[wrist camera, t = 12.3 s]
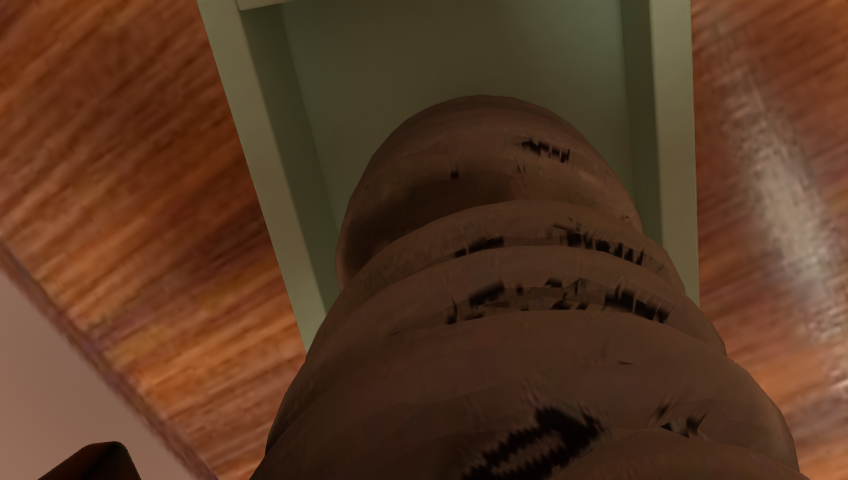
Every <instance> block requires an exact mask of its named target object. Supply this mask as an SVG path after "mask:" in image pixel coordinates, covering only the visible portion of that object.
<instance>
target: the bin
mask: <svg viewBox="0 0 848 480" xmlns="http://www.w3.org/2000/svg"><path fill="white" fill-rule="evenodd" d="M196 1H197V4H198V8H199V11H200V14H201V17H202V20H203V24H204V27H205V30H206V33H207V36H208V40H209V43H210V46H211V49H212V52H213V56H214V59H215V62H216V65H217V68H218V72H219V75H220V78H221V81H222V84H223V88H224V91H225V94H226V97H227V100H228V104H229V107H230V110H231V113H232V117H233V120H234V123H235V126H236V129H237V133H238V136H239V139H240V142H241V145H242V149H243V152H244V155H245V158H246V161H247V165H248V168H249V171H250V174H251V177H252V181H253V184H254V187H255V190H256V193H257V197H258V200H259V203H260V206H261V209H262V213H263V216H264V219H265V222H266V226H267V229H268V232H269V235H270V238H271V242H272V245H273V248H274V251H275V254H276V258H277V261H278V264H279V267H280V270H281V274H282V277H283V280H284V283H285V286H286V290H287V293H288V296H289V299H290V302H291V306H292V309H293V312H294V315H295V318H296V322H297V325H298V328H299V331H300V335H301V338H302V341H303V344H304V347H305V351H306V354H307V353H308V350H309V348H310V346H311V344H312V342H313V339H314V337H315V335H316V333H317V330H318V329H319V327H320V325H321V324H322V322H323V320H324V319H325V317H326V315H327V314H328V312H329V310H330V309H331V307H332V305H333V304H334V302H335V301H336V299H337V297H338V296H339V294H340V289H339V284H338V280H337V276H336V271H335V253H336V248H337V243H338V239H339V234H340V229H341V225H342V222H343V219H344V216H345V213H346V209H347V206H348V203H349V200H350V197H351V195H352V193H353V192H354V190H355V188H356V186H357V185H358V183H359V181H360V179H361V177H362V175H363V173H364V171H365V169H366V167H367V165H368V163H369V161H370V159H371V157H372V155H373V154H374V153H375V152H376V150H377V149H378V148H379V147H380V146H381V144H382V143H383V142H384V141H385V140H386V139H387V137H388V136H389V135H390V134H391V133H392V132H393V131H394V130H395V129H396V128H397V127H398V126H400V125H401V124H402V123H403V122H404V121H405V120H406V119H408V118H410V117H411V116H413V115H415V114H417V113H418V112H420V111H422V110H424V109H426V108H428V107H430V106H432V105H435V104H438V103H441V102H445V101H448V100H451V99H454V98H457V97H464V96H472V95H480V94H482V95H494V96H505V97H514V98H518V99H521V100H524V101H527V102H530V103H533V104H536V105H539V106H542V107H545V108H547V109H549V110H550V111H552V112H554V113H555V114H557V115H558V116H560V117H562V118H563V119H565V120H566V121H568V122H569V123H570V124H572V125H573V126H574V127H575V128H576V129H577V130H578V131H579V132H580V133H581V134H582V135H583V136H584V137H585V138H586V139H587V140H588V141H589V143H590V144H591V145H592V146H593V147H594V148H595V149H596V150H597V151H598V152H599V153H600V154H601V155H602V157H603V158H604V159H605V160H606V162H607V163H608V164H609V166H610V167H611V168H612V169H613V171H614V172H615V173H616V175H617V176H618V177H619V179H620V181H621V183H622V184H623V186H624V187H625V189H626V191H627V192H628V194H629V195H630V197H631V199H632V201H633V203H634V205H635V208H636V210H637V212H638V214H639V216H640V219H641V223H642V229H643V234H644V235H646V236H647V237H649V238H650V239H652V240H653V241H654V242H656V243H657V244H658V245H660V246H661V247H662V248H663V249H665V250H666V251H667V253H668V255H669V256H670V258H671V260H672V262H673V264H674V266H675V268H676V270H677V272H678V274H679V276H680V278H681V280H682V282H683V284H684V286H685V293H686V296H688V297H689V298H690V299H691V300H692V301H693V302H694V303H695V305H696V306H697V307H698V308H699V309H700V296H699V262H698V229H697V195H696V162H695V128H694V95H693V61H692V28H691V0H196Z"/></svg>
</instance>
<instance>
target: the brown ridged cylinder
mask: <svg viewBox="0 0 848 480" xmlns="http://www.w3.org/2000/svg"><path fill="white" fill-rule="evenodd" d="M335 271H336V276H337V280H338V284H339V289H340V294H339V296H338V297H337V299H336V301H335V302H334V304H333V305H332V307H331V309H330V310H329V312H328V314H327V315H326V317H325V319H324V320H323V322H322V324H321V325H320V327H319V329H318V330H317V333H316V335H315V337H314V339H313V342H312V344H311V346H310V348H309V350H308V353H307V355H306V360H305V363H304V364H303V365H302V367H301V369H300V370H299V372H298V374H297V375H296V377H295V378H294V380H293V382H292V383H291V385H290V387H289V388H288V390H287V392H286V393H285V395H284V398H283V400H282V403H281V405H280V408H279V410H278V413H277V415H276V418H275V420H274V423H273V425H272V428H271V430H270V433H269V435H268V439H267V445H266V451H265V457H264V458H263V460H262V461H261V463H260V464H259V466H258V467H257V469H256V470H255V472H254V473H253V475H252V476H251V478H250V479H249V480H810V479H809V478H807V477H806V476H805V475H803V474H802V473H800V471H799V466H798V460H797V455H796V450H795V445H794V441H793V437H792V435H791V433H790V431H789V428H788V426H787V424H786V422H785V419H784V417H783V415H782V413H781V411H780V410H779V408H778V407H777V406H776V405H775V404H774V402H773V401H772V400H771V399H770V398H769V396H768V395H767V394H766V393H765V392H764V391H763V389H762V388H761V387H760V386H759V385H758V383H757V382H756V381H755V380H754V379H753V377H752V376H751V375H750V374H749V373H748V372H747V370H745V369H744V368H742V367H741V366H739V365H738V364H736V363H735V362H733V361H732V360H730V359H729V358H727V354H726V349H725V345H724V343H723V341H722V339H721V337H720V336H719V334H718V332H717V331H716V329H715V327H714V326H713V324H712V323H711V321H710V320H709V319H708V318H707V317H706V316H705V315H704V314H703V312H702V311H701V310H700V309H699V308H698V307H697V306H696V305H695V303H694V302H693V301H692V300H691V299H690V298H689V297H688V296H686V293H685V286H684V284H683V282H682V280H681V278H680V276H679V274H678V272H677V270H676V268H675V266H674V264H673V262H672V260H671V258H670V256H669V255H668V253H667V251H666V250H665V249H663V248H662V247H661V246H660V245H658V244H657V243H656V242H654V241H653V240H652V239H650V238H649V237H647V236H646V235H644V234H643V229H642V223H641V219H640V216H639V214H638V212H637V210H636V208H635V205H634V203H633V201H632V199H631V197H630V195H629V194H628V192H627V191H626V189H625V187H624V186H623V184H622V183H621V181H620V179H619V177H618V176H617V175H616V173H615V172H614V171H613V169H612V168H611V167H610V166H609V164H608V163H607V162H606V160H605V159H604V158H603V157H602V155H601V154H600V153H599V152H598V151H597V150H596V149H595V148H594V147H593V146H592V145H591V144H590V143H589V141H588V140H587V139H586V138H585V137H584V136H583V135H582V134H581V133H580V132H579V131H578V130H577V129H576V128H575V127H574V126H573V125H572V124H570V123H569V122H568V121H566V120H565V119H563V118H562V117H560V116H558V115H557V114H555V113H554V112H552V111H550V110H549V109H547V108H545V107H542V106H539V105H536V104H533V103H530V102H527V101H524V100H521V99H518V98H514V97H505V96H494V95H482V94H480V95H472V96H464V97H457V98H454V99H451V100H448V101H445V102H441V103H438V104H435V105H432V106H430V107H428V108H426V109H424V110H422V111H420V112H418V113H417V114H415V115H413V116H411V117H410V118H408V119H406V120H405V121H404V122H403V123H402V124H401V125H400V126H398V127H397V128H396V129H395V130H394V131H393V132H392V133H391V134H390V135H389V136H388V137H387V139H386V140H385V141H384V142H383V143H382V144H381V146H380V147H379V148H378V149H377V150H376V152H375V153H374V154H373V155H372V157H371V159H370V161H369V163H368V165H367V167H366V169H365V171H364V173H363V175H362V177H361V179H360V181H359V183H358V185H357V186H356V188H355V190H354V192H353V193H352V195H351V197H350V200H349V203H348V206H347V209H346V213H345V216H344V219H343V222H342V225H341V229H340V234H339V239H338V243H337V248H336V253H335Z"/></svg>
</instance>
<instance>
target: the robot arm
mask: <svg viewBox="0 0 848 480" xmlns="http://www.w3.org/2000/svg"><path fill="white" fill-rule="evenodd" d="M38 480H141V478H140V476H139V474H138V472H137V470H136V468H135V465H134V463H133V461H132V459H131V457H130V455H129V453H128V450H127V449H126V447H125V446H124V445H123V444H122V443H120V442H117V441H113V442H103V443H94V444H90V445H87V446H85V447H83V448H82V449H80V450H79V451H78V452H76V453H75V454H73V455H72V456H71V457H69V458H68V459H66V460H65V461H63V462H62V463H61V464H59V465H58V466H56V467H55V468H53V469H52V470H51V471H49V472H48V473H46V474H45V475H43V476H42V477H41V478H39V479H38Z"/></svg>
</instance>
